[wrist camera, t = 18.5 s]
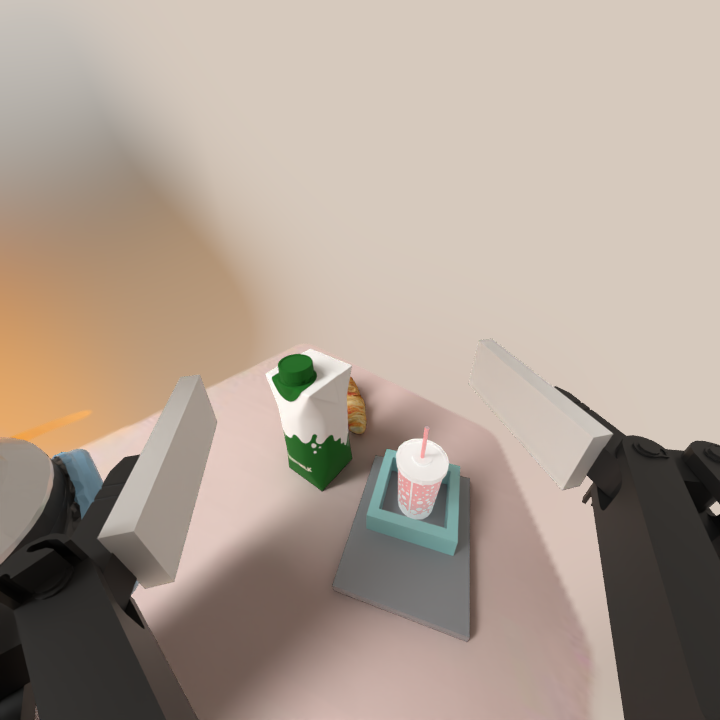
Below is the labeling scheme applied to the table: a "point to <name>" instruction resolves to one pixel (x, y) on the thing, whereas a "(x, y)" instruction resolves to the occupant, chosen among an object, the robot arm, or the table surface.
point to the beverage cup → (420, 475)
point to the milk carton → (313, 413)
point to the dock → (411, 552)
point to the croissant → (355, 409)
